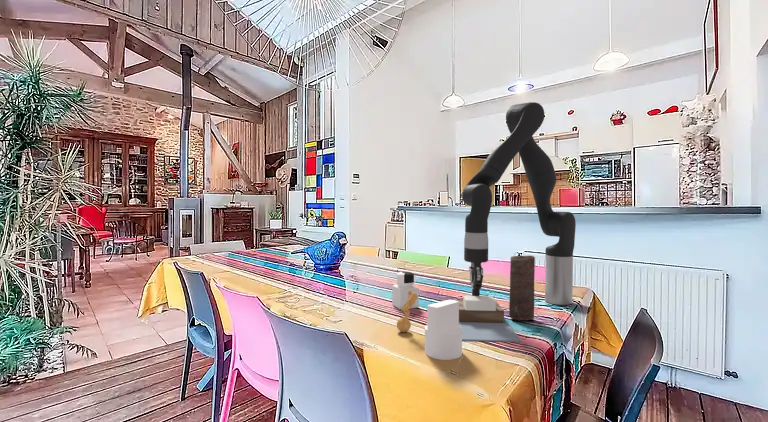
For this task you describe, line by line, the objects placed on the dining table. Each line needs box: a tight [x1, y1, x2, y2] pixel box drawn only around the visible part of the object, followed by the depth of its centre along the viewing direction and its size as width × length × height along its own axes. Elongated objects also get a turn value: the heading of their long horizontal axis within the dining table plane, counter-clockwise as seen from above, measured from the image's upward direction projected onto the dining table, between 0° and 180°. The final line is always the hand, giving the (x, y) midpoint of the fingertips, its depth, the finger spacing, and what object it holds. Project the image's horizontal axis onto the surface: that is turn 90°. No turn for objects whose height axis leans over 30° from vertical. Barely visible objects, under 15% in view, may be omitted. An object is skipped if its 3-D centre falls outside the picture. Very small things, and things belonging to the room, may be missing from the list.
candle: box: [508, 255, 536, 321], centre depth 122 cm, size 8×7×20 cm
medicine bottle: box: [391, 271, 420, 310], centre depth 139 cm, size 7×7×12 cm
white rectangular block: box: [462, 295, 497, 311], centre depth 122 cm, size 6×9×3 cm, turn 86°
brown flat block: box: [454, 299, 505, 323], centre depth 125 cm, size 12×14×4 cm
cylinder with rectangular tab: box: [424, 299, 463, 361], centre depth 96 cm, size 9×9×12 cm
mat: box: [459, 322, 522, 343], centre depth 111 cm, size 15×16×1 cm
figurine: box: [396, 290, 417, 333], centre depth 111 cm, size 8×6×12 cm
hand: (475, 300), depth 126 cm, fingers closed
